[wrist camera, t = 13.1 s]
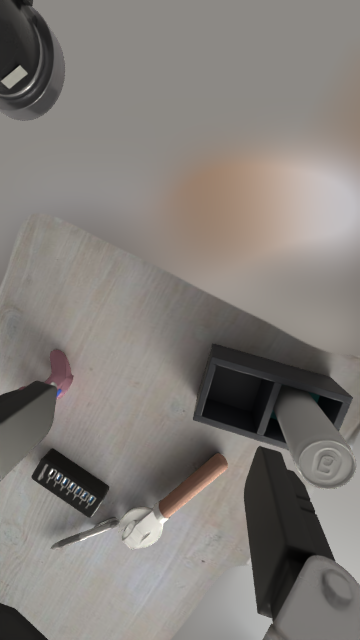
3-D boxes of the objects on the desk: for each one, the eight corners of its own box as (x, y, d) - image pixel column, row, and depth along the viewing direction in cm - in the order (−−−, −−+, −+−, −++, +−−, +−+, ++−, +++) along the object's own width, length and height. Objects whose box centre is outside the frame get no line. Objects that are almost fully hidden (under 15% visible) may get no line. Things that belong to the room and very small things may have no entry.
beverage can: (314, 386, 33) (366, 447, 21) (303, 421, 34) (348, 497, 22) (275, 377, 34) (305, 432, 22) (265, 411, 35) (289, 481, 23)
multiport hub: (97, 506, 42) (90, 519, 40) (40, 467, 42) (30, 478, 40) (110, 487, 41) (103, 499, 39) (51, 447, 41) (42, 457, 39)
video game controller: (45, 400, 42) (33, 438, 36) (17, 388, 40) (-1, 425, 34) (83, 359, 40) (77, 392, 34) (56, 344, 38) (43, 375, 32)
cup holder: (212, 343, 35) (211, 356, 29) (330, 377, 34) (353, 397, 28) (196, 397, 37) (192, 420, 31) (308, 432, 35) (326, 462, 30)
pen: (123, 518, 42) (120, 527, 40) (55, 545, 45) (50, 553, 43) (120, 513, 42) (117, 521, 40) (52, 540, 45) (47, 548, 43)
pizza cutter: (208, 436, 38) (207, 449, 35) (238, 465, 38) (240, 480, 35) (116, 516, 42) (108, 535, 39) (143, 543, 42) (138, 563, 39)
